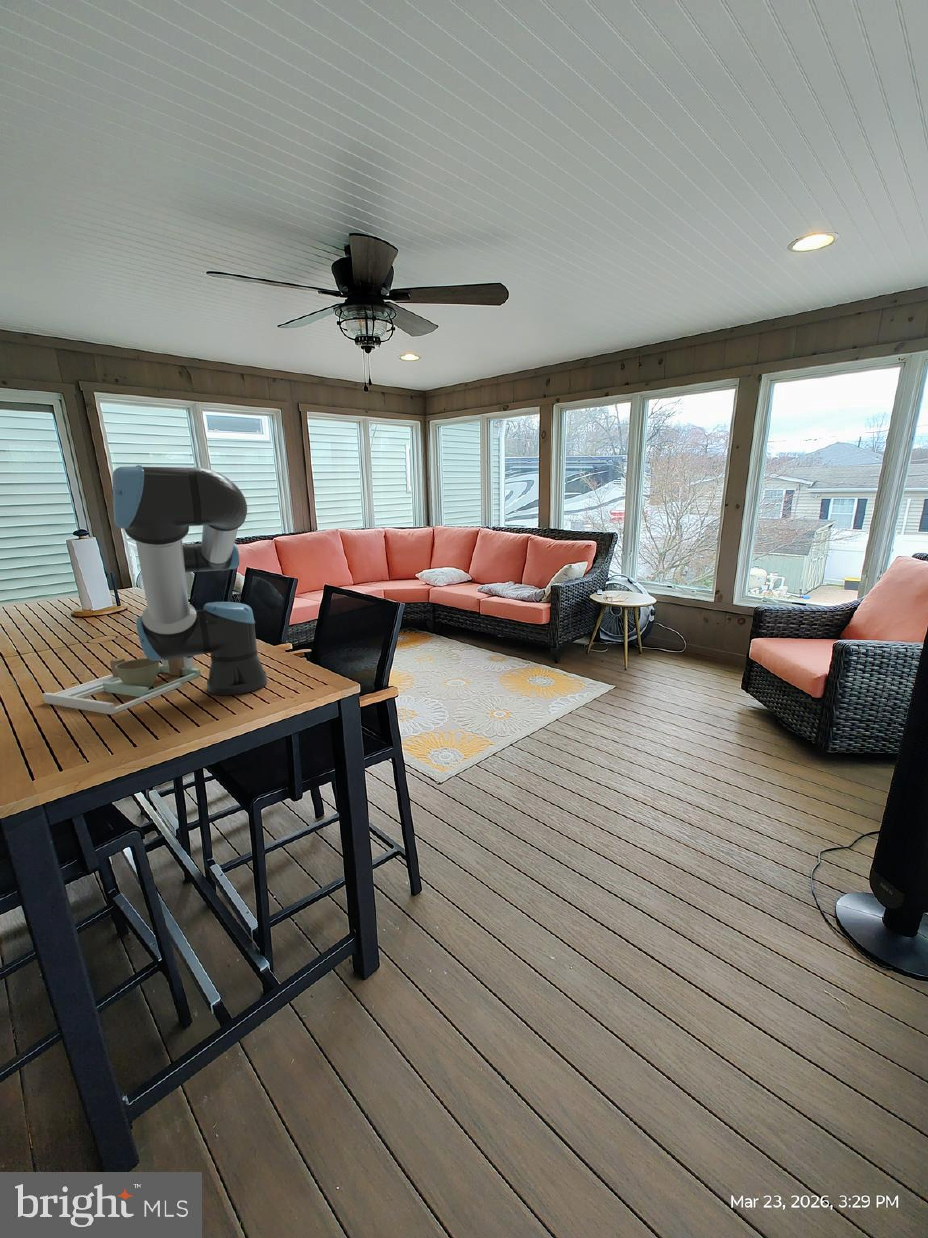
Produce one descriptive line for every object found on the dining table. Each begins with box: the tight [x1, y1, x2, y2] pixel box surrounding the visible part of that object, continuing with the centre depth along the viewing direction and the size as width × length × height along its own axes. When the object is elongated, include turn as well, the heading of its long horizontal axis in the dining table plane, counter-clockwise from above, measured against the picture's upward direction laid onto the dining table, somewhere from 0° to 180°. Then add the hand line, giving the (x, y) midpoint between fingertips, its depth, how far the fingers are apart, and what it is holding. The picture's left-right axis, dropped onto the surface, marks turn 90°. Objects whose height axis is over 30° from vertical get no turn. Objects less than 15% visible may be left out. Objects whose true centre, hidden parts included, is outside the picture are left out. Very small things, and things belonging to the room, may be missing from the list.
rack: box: [42, 673, 182, 715], centre depth 134 cm, size 26×20×2 cm
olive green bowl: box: [115, 657, 160, 690], centre depth 138 cm, size 10×10×7 cm
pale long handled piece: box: [59, 657, 126, 696], centre depth 138 cm, size 4×19×6 cm, turn 161°
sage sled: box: [103, 657, 202, 698], centre depth 142 cm, size 15×19×10 cm
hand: (178, 666), depth 150 cm, fingers closed on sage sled, 8 cm apart
